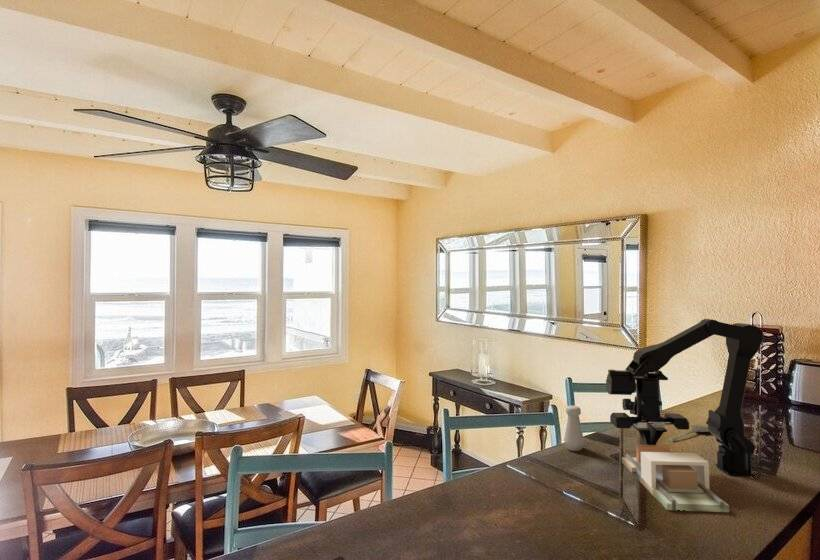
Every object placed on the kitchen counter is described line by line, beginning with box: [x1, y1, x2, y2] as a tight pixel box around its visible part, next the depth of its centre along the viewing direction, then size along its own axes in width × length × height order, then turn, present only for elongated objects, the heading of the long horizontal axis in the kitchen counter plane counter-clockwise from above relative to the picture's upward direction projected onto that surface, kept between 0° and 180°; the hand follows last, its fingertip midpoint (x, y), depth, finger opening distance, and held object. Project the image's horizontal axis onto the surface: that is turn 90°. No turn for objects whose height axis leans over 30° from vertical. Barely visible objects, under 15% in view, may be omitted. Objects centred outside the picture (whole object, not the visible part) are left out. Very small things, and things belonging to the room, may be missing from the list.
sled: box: [635, 443, 704, 493], centre depth 111 cm, size 8×18×5 cm, turn 174°
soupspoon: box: [668, 424, 710, 443], centre depth 145 cm, size 22×3×7 cm
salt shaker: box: [563, 404, 585, 452], centre depth 135 cm, size 6×6×13 cm
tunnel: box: [641, 451, 710, 490], centre depth 107 cm, size 13×6×6 cm, turn 84°
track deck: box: [621, 454, 730, 513], centre depth 110 cm, size 13×26×2 cm, turn 174°
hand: (649, 451), depth 121 cm, fingers closed
